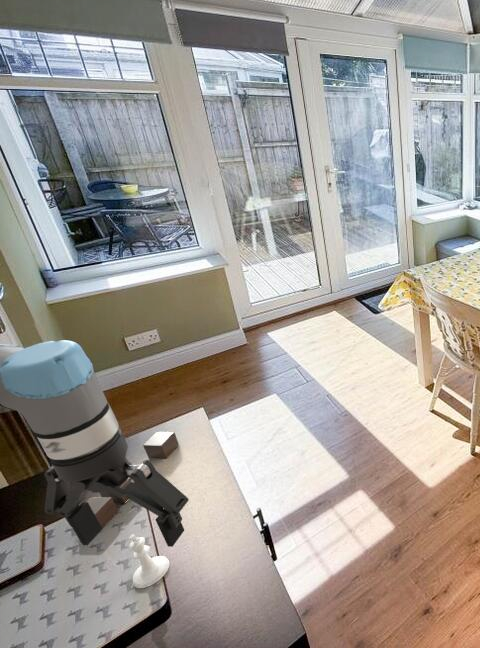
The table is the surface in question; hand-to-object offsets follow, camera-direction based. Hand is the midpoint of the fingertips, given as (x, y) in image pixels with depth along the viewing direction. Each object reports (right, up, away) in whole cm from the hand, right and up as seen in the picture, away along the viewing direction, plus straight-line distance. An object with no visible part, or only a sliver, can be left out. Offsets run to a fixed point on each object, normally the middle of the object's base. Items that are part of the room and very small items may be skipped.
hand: (134, 537), depth 68 cm
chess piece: (-1, -9, +4) cm, 10 cm away
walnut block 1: (-18, -2, +17) cm, 24 cm away
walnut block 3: (-18, +2, +27) cm, 32 cm away
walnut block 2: (-18, -4, +12) cm, 22 cm away
